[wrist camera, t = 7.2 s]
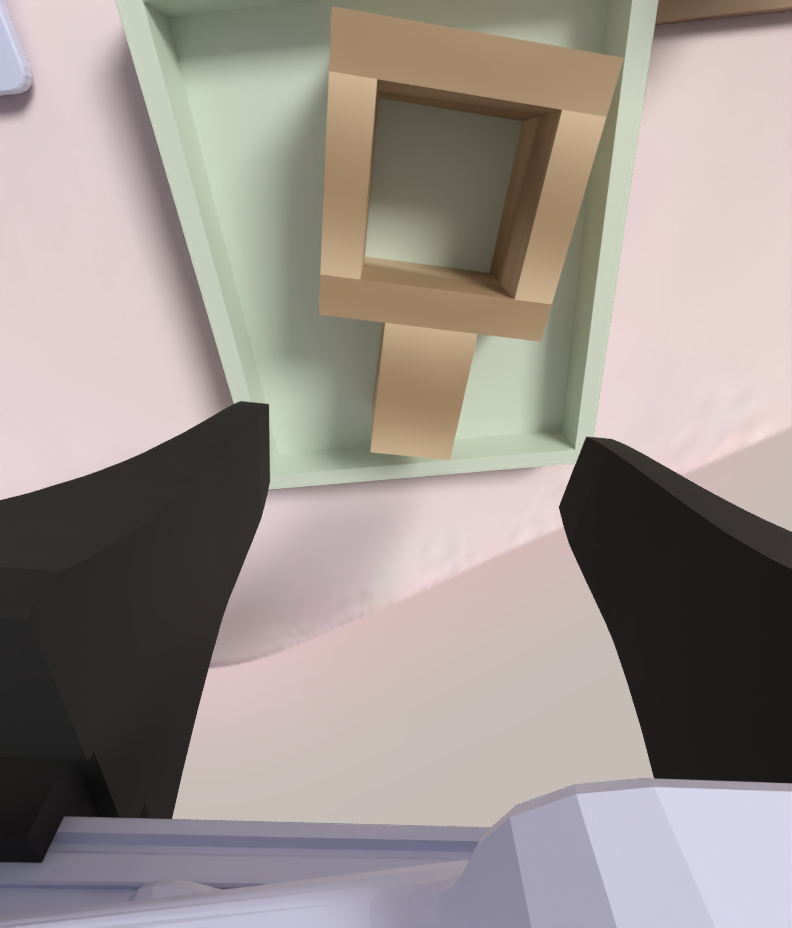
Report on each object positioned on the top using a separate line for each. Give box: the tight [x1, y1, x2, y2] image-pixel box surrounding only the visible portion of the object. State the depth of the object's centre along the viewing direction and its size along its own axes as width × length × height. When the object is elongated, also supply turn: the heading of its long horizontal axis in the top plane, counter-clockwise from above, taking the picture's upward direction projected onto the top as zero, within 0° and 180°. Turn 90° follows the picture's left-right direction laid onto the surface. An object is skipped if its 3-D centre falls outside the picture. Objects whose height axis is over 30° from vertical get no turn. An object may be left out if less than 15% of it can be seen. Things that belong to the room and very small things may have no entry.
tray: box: [115, 0, 659, 490], centre depth 15 cm, size 12×14×2 cm
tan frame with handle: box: [319, 6, 624, 460], centre depth 14 cm, size 10×6×4 cm, turn 173°
